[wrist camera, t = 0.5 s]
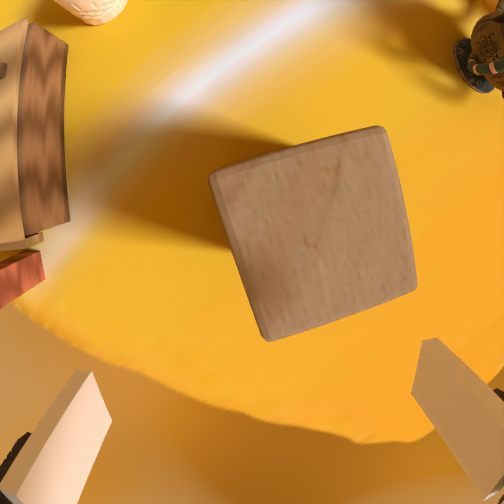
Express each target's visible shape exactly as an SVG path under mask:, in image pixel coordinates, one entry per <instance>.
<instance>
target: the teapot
mask: <svg viewBox="0 0 504 504" xmlns="http://www.w3.org/2000/svg"><path fill="white" fill-rule="evenodd" d="M453 54H454V60H455V64H456V66H457V69H458V71H459V73H460V74H461V76H462V78H463V79H464V81H465V82H466V83H467V84H468V85H469V86H470V87H471V88H472V89H474V90H475V91H477V92H480V93H490V92H491V91H492V90H494V87H496V88H497V89H499V90H501V91H502V97H503V98H504V0H499V1H498V4H497V7H496V11H495V12H492V13H490V14H487V15H485V16H483V17H482V18H481V19H480V20H479V21H477V23H476V25H475V27H474V29H473V32H472V35H471V39H469V38H463V39H461V40H459V41H457V42H456V44H455V46H454V52H453Z"/></svg>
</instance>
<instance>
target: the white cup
mask: <svg viewBox="0 0 504 504" xmlns="http://www.w3.org/2000/svg"><path fill="white" fill-rule="evenodd" d="M53 1H55V2H56V3H57V4H59V5H60V6H61V7H63V8H64V9H66V10H67V11H68V12H70V13H72V14H73V15H74V16H76V17H78V18H80V19H81V20H82V21H84V22H85V23H86V24H90V25H94V26H96V25H101V24H105V23H107V22H109V21H110V20H112V19H114V18H115V17H116V16H117V15H118V14H119V13H120V12H121V11H122V10H123V9H124V7H125V5H126V3H127V0H53Z"/></svg>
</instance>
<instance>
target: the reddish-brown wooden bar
mask: <svg viewBox="0 0 504 504" xmlns="http://www.w3.org/2000/svg"><path fill="white" fill-rule="evenodd" d="M44 280H45V275H44V270H43V265H42V260H41V254H40V251H35V252H24V253H19V254H16V255H14V256H12V257H10V258H8V259H5V260H3V261H1V262H0V309H1V308H2V307H4V306H5V305H7V304H8V303H10V302H11V301H13V300H14V299H16V298H17V297H19V296H20V295H22V294H23V293H25V292H26V291H28V290H30V289H31V288H33V287H34V286H36V285H37V284H39V283H40V282H42V281H44Z"/></svg>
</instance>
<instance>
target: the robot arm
mask: <svg viewBox="0 0 504 504" xmlns="http://www.w3.org/2000/svg"><path fill="white" fill-rule="evenodd" d="M411 394H412V395H413V397H414V398H415V400H416V401H417V403H418V404H419V405H420V407H421V408H422V410H423V411H424V412H425V414H426V415H427V417H428V418H429V420H430V421H431V422H432V424H433V425H434V427H435V428H436V430H437V431H438V432H439V434H440V435H441V437H442V438H443V440H444V441H445V443H446V444H447V446H448V447H449V449H450V450H451V452H452V453H453V455H454V456H455V458H456V459H457V461H458V462H459V464H460V465H461V467H462V468H463V470H464V471H465V473H466V474H467V476H468V477H469V479H470V480H471V482H472V484H473V485H474V487H475V488H476V490H477V491H478V493H479V495H480V496H481V498H482V499H483V501H484V500H486V499H488V498H489V497H491V496H493V495H494V494H496V493H497V492H499V491H500V490H501V489H502V488H503V486H504V392H503V391H501V390H499V389H495V390H492V389H490V387H488V386H487V385H486V384H485V383H484V382H483V381H482V380H481V379H480V378H479V377H478V376H477V375H476V374H475V373H474V372H473V371H472V370H471V369H470V368H469V367H468V366H467V365H466V364H465V363H464V362H463V361H462V360H461V359H460V358H459V357H457V356H456V355H455V354H454V353H453V352H452V351H451V350H450V349H449V348H448V347H447V346H446V345H445V344H444V343H442V342H441V341H440V340H439V339H438V338H433V339H429V340H425V341H422V345H421V350H420V356H419V361H418V366H417V370H416V375H415V379H414V384H413V388H412V392H411ZM111 422H112V420H111V417H110V415H109V413H108V410H107V408H106V406H105V403H104V401H103V399H102V396H101V394H100V391H99V389H98V386H97V384H96V381H95V378H94V376H93V373H92V371H85V370H76V371H75V372H74V374H73V375H72V376H71V378H70V379H69V381H68V382H67V383H66V385H65V386H64V388H63V389H62V390H61V392H60V393H59V394H58V396H57V397H56V399H55V400H54V402H53V403H52V404H51V406H50V407H49V409H48V410H47V412H46V413H45V414H44V416H43V418H42V419H41V420H40V422H39V423H38V425H37V426H36V428H35V429H34V431H33V432H32V433H29V432H27V433H26V434H25V435H23V436H22V437H21V438H19V439H18V440H17V442H16V443H15V445H14V446H13V448H12V451H10V452H9V454H8V455H7V459H5V460H4V461H3V463H2V465H1V466H0V504H77V502H78V499H79V497H80V495H81V492H82V490H83V487H84V485H85V482H86V480H87V477H88V475H89V473H90V470H91V468H92V466H93V463H94V461H95V458H96V456H97V454H98V451H99V449H100V447H101V445H102V442H103V440H104V437H105V435H106V433H107V431H108V429H109V426H110V424H111ZM503 500H504V495H503V496H502V497H501V498H500V500H499V502H498V504H501V503H502V502H503Z"/></svg>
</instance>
